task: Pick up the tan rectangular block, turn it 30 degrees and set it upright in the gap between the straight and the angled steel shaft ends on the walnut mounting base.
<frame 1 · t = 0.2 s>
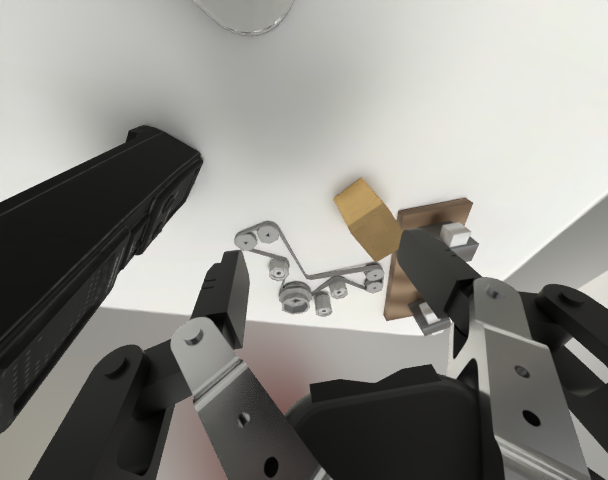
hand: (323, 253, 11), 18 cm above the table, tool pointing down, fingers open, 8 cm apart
tan rectangular block: (358, 203, 30), on the table
shaft mount: (416, 268, 40), on the table
pulley system: (307, 272, 38), on the table
portable radio: (167, 169, 25), on the table
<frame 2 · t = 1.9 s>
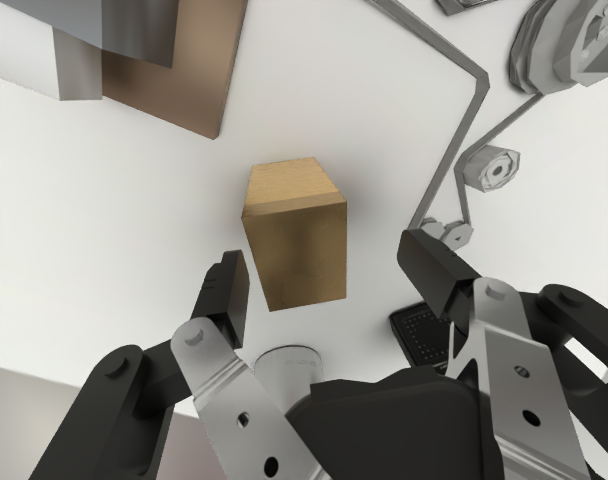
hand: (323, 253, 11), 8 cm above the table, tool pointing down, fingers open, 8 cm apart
tan rectangular block: (289, 200, 17), on the table
pulley system: (470, 82, 15), on the table
portable radio: (418, 314, 29), on the table
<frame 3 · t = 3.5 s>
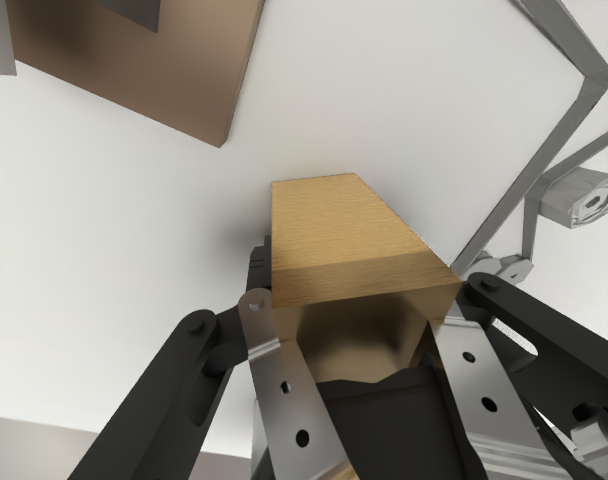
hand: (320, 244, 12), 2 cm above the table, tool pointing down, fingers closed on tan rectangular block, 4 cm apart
tan rectangular block: (315, 226, 13), on the table, touching gripper
pulley system: (569, 82, 11), on the table
portable radio: (445, 350, 25), on the table
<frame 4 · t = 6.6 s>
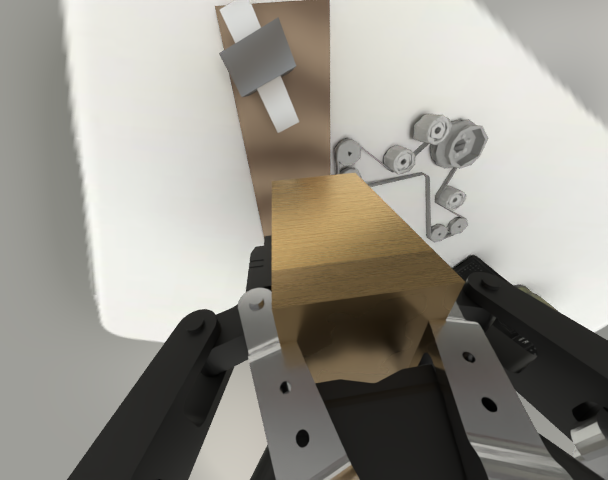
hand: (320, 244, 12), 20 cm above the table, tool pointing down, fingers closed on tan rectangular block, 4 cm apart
tan rectangular block: (315, 225, 13), point 18 cm above the table, touching gripper
shaft mount: (289, 158, 28), on the table
pulley system: (421, 172, 32), on the table
portable radio: (464, 268, 44), on the table
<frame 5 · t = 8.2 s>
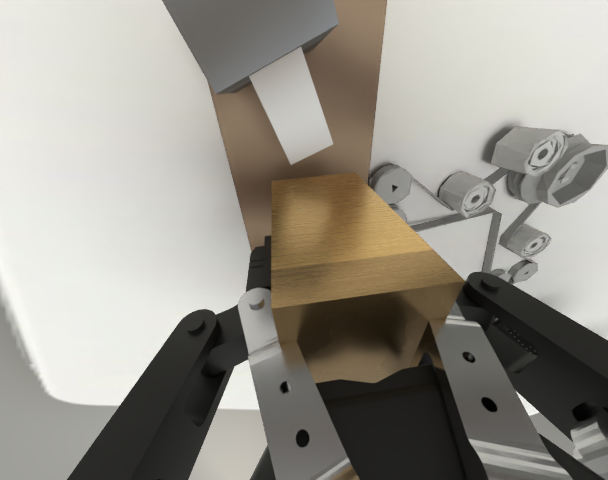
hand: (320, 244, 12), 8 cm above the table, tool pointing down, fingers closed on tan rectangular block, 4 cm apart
tan rectangular block: (315, 225, 13), point 6 cm above the table, touching gripper
shaft mount: (302, 189, 18), on the table
pulley system: (486, 205, 22), on the table
portable radio: (518, 315, 35), on the table
when the fingers open (4 cm above the table, at t = 9.7 s): tan rectangular block stays where it is, resting on shaft mount.
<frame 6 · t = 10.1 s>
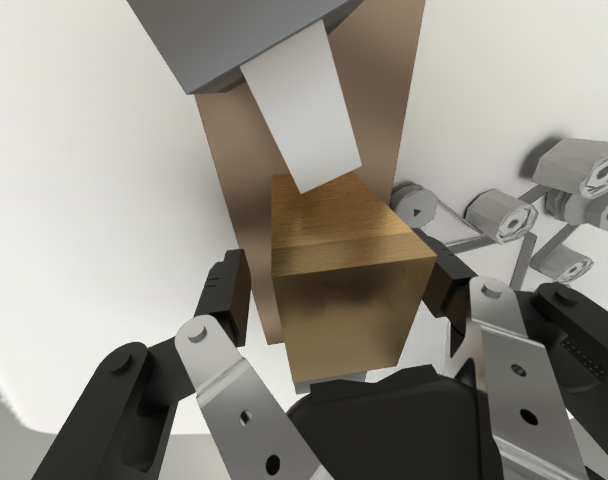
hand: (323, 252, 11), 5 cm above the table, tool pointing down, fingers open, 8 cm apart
tan rectangular block: (313, 218, 14), point 1 cm above the table, touching shaft mount
shaft mount: (309, 208, 15), on the table
pulley system: (517, 225, 19), on the table
portable radio: (541, 336, 32), on the table
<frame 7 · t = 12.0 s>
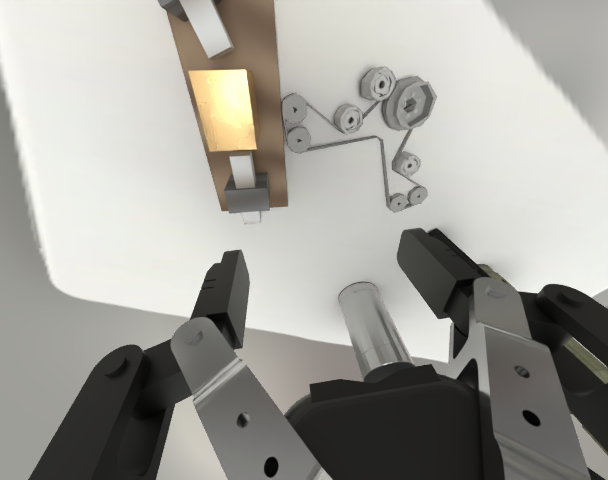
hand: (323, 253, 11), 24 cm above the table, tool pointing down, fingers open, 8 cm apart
thermos: (470, 276, 53), on the table
tan rectangular block: (237, 105, 25), point 1 cm above the table, touching shaft mount
shaft mount: (239, 104, 26), on the table
pulley system: (376, 136, 31), on the table
portable radio: (428, 242, 44), on the table
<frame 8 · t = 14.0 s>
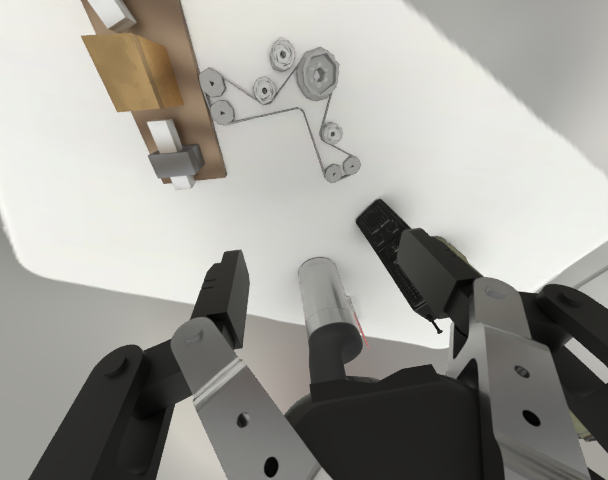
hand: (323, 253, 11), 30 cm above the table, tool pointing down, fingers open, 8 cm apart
thermos: (428, 250, 54), on the table
tan rectangular block: (158, 78, 28), point 1 cm above the table, touching shaft mount
shaft mount: (162, 79, 29), on the table
pulley system: (300, 108, 34), on the table
ink cartridge box: (349, 307, 63), on the table
portable radio: (375, 214, 46), on the table
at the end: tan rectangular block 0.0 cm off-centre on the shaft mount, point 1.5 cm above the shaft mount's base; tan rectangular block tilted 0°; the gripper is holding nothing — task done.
